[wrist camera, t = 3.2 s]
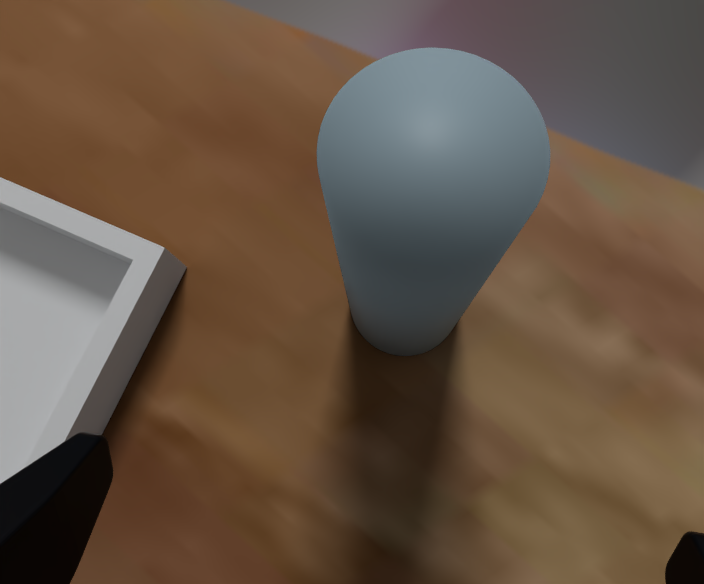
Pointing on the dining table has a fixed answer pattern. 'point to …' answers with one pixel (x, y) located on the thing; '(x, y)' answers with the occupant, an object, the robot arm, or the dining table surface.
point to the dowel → (427, 188)
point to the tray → (69, 320)
